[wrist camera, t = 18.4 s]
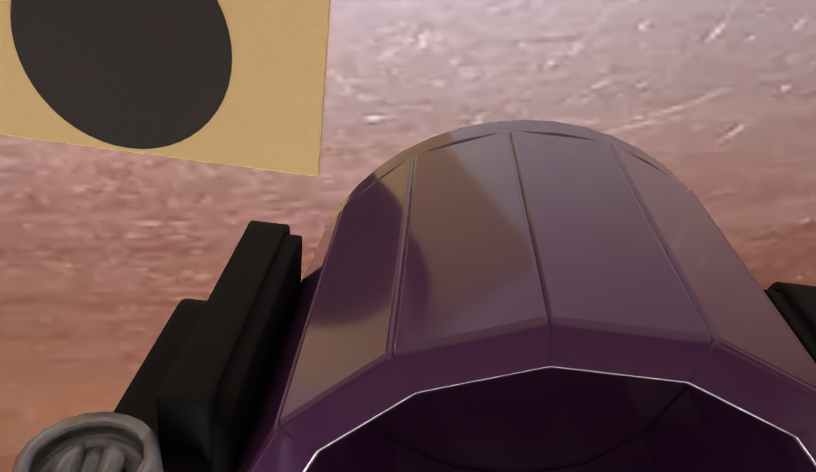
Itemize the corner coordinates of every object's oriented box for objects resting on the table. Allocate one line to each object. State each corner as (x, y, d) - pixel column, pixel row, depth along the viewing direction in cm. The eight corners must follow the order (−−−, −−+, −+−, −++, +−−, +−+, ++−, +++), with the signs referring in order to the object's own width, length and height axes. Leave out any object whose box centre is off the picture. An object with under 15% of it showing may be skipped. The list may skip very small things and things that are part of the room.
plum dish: (317, 91, 10) (213, 280, 6) (788, 147, 10) (1052, 377, 6) (300, 443, 13) (226, 742, 9) (661, 485, 13) (766, 804, 9)
